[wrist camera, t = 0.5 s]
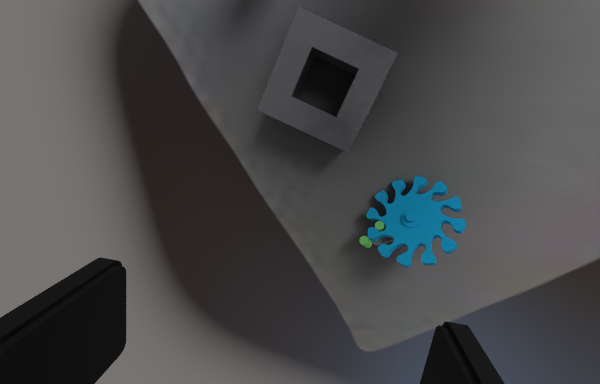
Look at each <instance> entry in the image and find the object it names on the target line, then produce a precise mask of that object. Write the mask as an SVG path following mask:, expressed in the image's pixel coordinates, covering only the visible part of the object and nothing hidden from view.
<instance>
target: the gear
mask: <svg viewBox="0 0 600 384" xmlns="http://www.w3.org/2000/svg"><path fill="white" fill-rule="evenodd" d="M426 185H427V180H426V179H425V178H424V177H421V176H415V178H414V184H413V187H412V189H411V190H410V192H409V193H408V194H407V195H405V196H402V195H401V193H402V191H403V190H404V189H405V187H406V185H405V183H404V181H403V180H396V181H393V182H392V186H393V188H394V189H395V192H396V196H395V200H394V202H393V203H391V204H388V203H387V202H388V195H387V194H386V192H385V191H381V192H379V193H378V194H376V195H375V198H376V200H377V201H378V202H379V203H381V204H383V205H384V206H385V208H386V211H387V213H386V215H385V216H382V217H381V216H379V213H378V212H377V211H376V209H375V208H370V209H369V211H368V212H367V215H366V217H367V218H368V219H369V220H370V221H377V222H376V223H375V228H374V227H370V228H369V229H368V237H367V236H362V237H361V238H360V240H359V241H360V243H361V244H362V245H363V246H364V247H365V248H370V247H371V246H372V244H373V245H375V246H378V250H379V252H380V254H381V255H382V256H383V257H384V258H388V257H389V256H390V255H391V253H392V252H393V251H394V250H395V249H397V248H399V247H401V246H408V251H407V252H406V253H403V254H400V255H399V256H398V258H397V261H398V262H399V263H400V264H401V265H403V266H405V267H408V268H409V267H410V266H411V264H412V256H413V253H414V252H415V250H416V249H417V248H418V247H419V246H425V247H426V251H425V252H424V253H423V255H422V256H421V261H422V263H423V264H424V265H435V264H436V258H435V256H434V255H433V252H432V241H433V239H434V238H437V237H439V238H441V239H442V248H443V251H444V252H445V253H447V254H449V253H451V252H453V251H455V250H456V249H457V244H456V242H455V241H454V240H452V239H450V238H448V237H447V236H446V235H445V234H444V233H443V232H442V230H441V226H442V225H443V224H445V223H448V224H450V225H451V226H452V228H453V230H454V231H455V232H456V233H459V234H461V233H462V232H463V231H464V229H465V227H466V221H465V220H464V219H462V218H450V217H447V216H445V215H444V214H442V213H441V210H442V209H443V208H449V209H451V210H452V211H455V212H458V211H461V209H462V206H461V201H460V197H453V198H451V199H449V200H446V201H433V200H431V199H432V197H433V196H435V195H445V194H447V193H448V189H447V187H446V185H445V184H444V183H443V182H442V181H439V182H437V183H436V184H435V185H434V187H433V188H432V189H431V190H430V191H428V192H426V193H424V194H417V191H418V190H420V189H422V188H424V187H426ZM391 241H394V242H393V243H392V244H391V245H386V243H388V242H391Z"/></svg>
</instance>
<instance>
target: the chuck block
mask: <svg viewBox="0 0 600 384" xmlns="http://www.w3.org/2000/svg"><path fill="white" fill-rule="evenodd" d="M397 54H398V53H397V52H395V51H393V50H391V49H389V48H387V47H384V46H382V45H380V44H378V43H376V42H374V41H372V40H370V39H367V38H365V37H363V36H361V35H359V34H357V33H355V32H352V31H350V30H348V29H346V28H344V27H342V26H340V25H338V24H335V23H333V22H331V21H329V20H327V19H325V18H323V17H321V16H318V15H316V14H314V13H312V12H310V11H308V10H306V9H304V8H301V7H299V6H298V8H297V10H296V13H295V15H294V18H293V20H292V23H291V25H290V28H289V30H288V33H287V35H286V38H285V40H284V43H283V45H282V48H281V50H280V53H279V56H278V58H277V61H276V63H275V66H274V68H273V71H272V73H271V76H270V78H269V81H268V83H267V86H266V88H265V91H264V93H263V96H262V98H261V101H260V103H259V106H258V108H257V110H258V111H260V112H262V113H264V114H266V115H268V116H271V117H273V118H275V119H277V120H279V121H281V122H283V123H286V124H288V125H290V126H292V127H294V128H296V129H298V130H301V131H303V132H305V133H307V134H309V135H311V136H313V137H316V138H318V139H320V140H322V141H324V142H326V143H328V144H330V145H333V146H335V147H337V148H339V149H341V150H343V151H345V152H348V153H349V151H350V149H351V147H352V145H353V143H354V141H355V139H356V137H357V135H358V133H359V131H360V129H361V127H362V125H363V123H364V121H365V119H366V117H367V115H368V113H369V111H370V109H371V107H372V105H373V103H374V101H375V99H376V97H377V95H378V93H379V91H380V89H381V87H382V85H383V83H384V81H385V79H386V77H387V75H388V73H389V71H390V68H391V66H392V64H393V62H394V60H395V58H396V56H397ZM315 56H316V57H318V58H320V59H322V60H324V61H326V62H329V63H331V64H333V65H335V66H337V67H339V68H341V69H343V70H346V71H348V72H350V73H352V74H354V75H355V78H354V80H353V82H352V84H351V86H350V88H349V90H348V93H347V95H346V97H345V99H344V101H343V103H342V105H341V107H340V110H339V112H338V114H337V116H336V117H335V116H333V115H331V114H329V113H327V112H325V111H323V110H320V109H318V108H316V107H314V106H312V105H310V104H308V103H305V102H303V101H301V100H299V99H297V98H298V96H299V93H300V91H301V89H302V86H303V84H304V82H305V79H306V77H307V75H308V72H309V70H310V68H311V65H312V63H313V61H314V58H315Z"/></svg>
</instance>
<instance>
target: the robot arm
mask: <svg viewBox="0 0 600 384" xmlns="http://www.w3.org/2000/svg"><path fill="white" fill-rule="evenodd" d="M125 344H126V269H125V268H124V267H122V264H121V262H120V261H116V260H111V259H105V258H98V259H96V260H94V261H92V262H91V263H89V264H88V265H86V266H84V267H83V268H81V269H79V270H78V271H76V272H74V273H73V274H71V275H70V276H68V277H67V278H65V279H63V280H61V281H60V282H58V283H56V284H55V285H53V286H52V287H50V288H48V289H47V290H45V291H44V292H42V293H40V294H38V295H37V296H35V297H34V298H32V299H30V300H29V301H27V302H25V303H24V304H22V305H20V306H19V307H17V308H15V309H14V310H12V311H11V312H9V313H7V314H6V315H4V316H3V317H1V318H0V384H94V383H95V382H96V381H97V380H98V379H99V378H100V377H101V376H102V375H103V373H104V372H105V371H106V370H107V369H108V368H109V367H110V366H111V364H112V363H113V362H114V361H115V360H116V359H117V358H118V357H119V356H120V354H121V352H122V351H123V349H124V347H125ZM420 384H504V382H503V380H502V379H501V377H500V376H499V374H498V373H497V371H496V369H495V368H494V366H493V365H492V363H491V361H490V360H489V358H488V357H487V355H486V353H485V352H484V350H483V349H482V347H481V345H480V344H479V342H478V341H477V339H476V338H475V336H474V334H473V333H472V331H471V329H470V328H469V327H468V326H467V325H462V324H457V323H452V322H444V324H443V325H442V326H437V327H436V330H435V333H434V336H433V340H432V343H431V347H430V350H429V354H428V357H427V361H426V364H425V368H424V371H423V375H422V378H421V381H420Z"/></svg>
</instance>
